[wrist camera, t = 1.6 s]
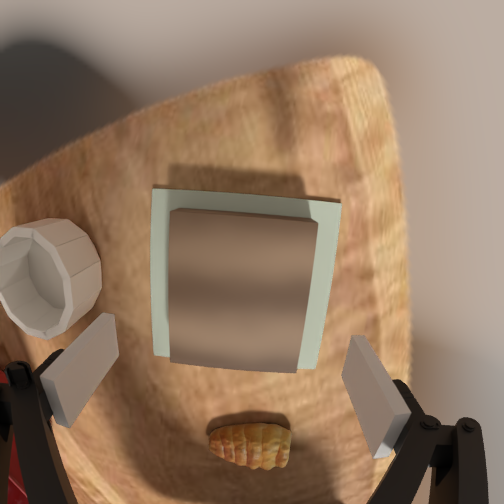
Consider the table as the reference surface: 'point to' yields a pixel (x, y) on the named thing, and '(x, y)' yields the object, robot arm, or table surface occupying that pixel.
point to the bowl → (48, 276)
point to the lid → (238, 288)
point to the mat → (237, 202)
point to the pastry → (252, 445)
